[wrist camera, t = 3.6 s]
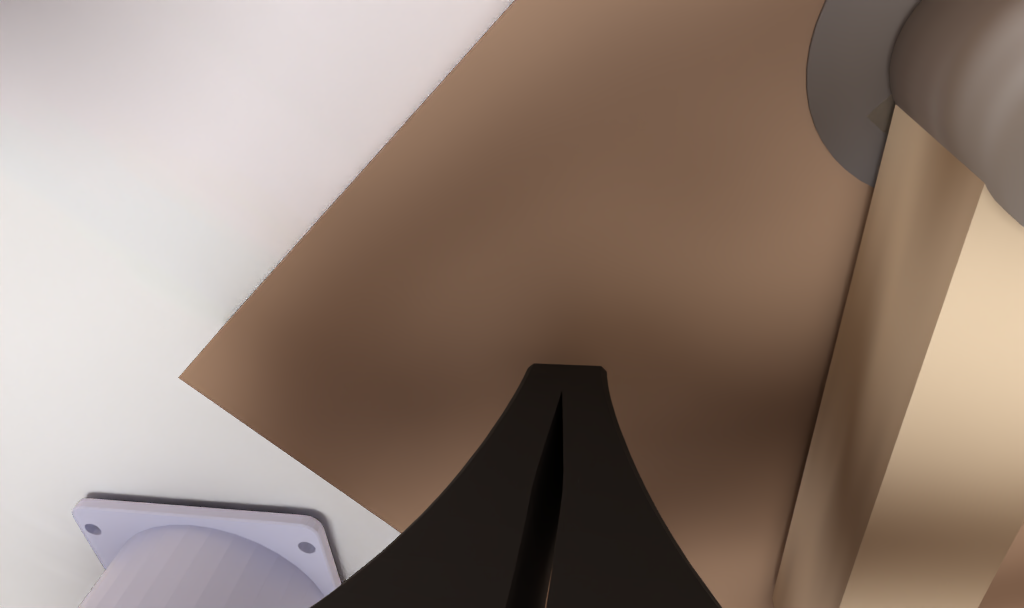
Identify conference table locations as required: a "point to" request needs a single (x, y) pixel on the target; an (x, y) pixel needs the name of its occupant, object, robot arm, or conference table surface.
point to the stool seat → (594, 264)
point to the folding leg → (927, 339)
